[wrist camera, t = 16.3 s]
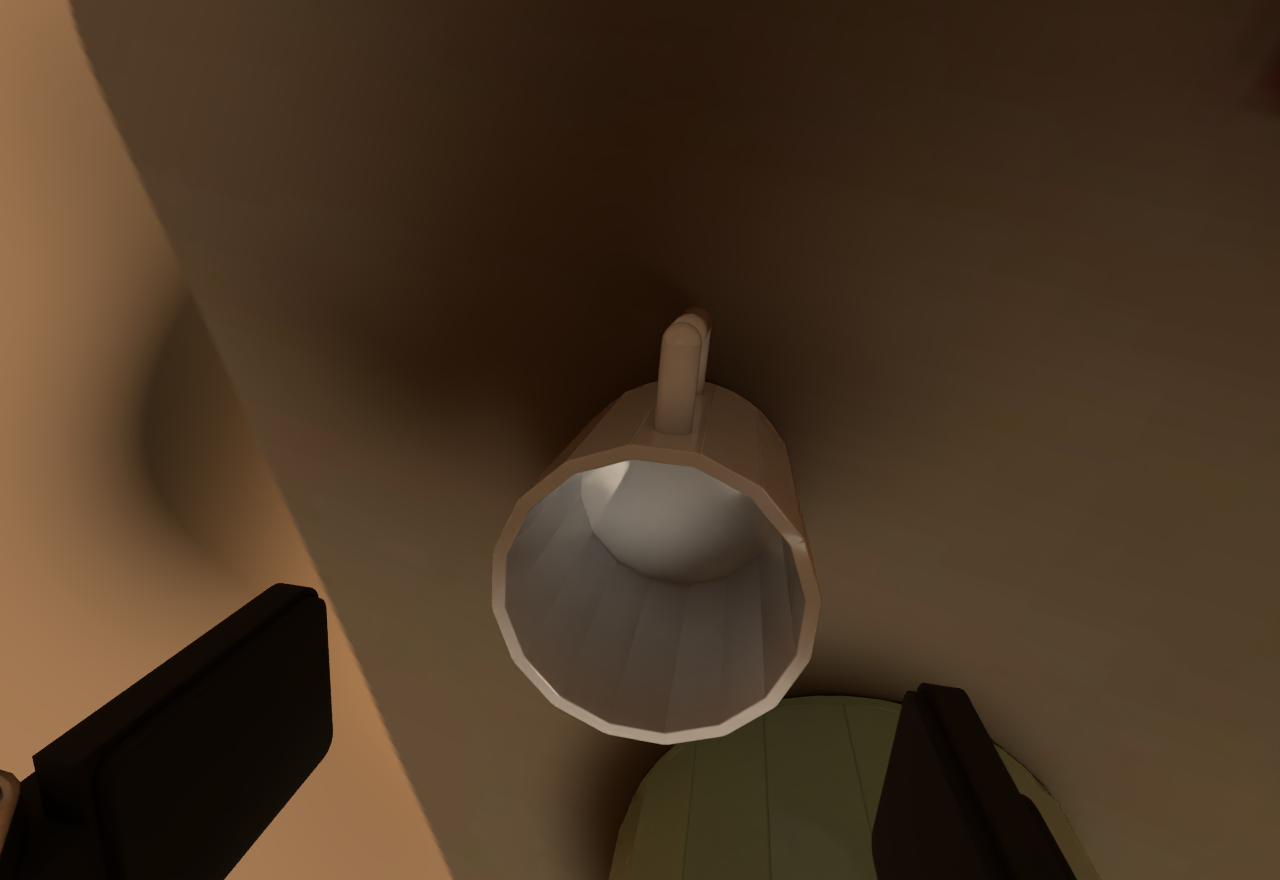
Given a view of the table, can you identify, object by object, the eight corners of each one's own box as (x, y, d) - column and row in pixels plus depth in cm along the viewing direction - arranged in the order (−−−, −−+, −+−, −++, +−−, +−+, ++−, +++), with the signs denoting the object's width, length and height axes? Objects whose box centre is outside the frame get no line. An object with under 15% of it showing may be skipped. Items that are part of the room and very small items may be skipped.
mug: (775, 599, 20) (790, 768, 14) (569, 568, 21) (488, 713, 14) (822, 313, 18) (869, 350, 11) (586, 290, 19) (497, 311, 12)
